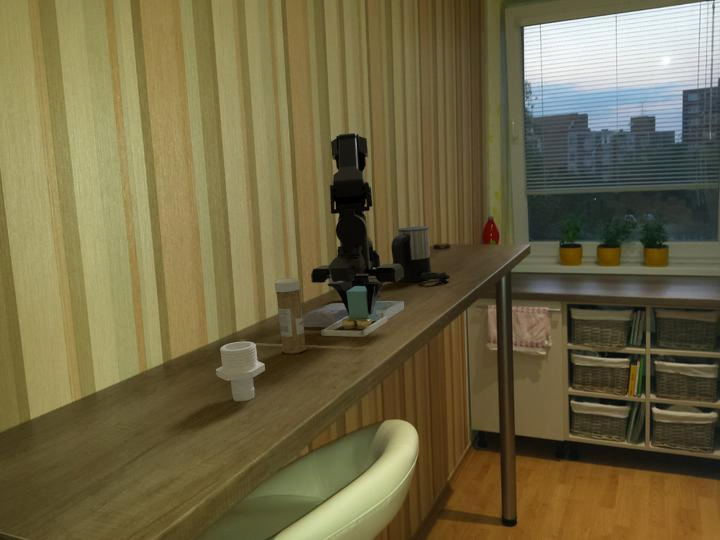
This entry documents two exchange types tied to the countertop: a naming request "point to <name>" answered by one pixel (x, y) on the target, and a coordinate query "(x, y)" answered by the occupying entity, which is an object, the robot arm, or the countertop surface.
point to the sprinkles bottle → (290, 315)
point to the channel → (387, 308)
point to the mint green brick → (359, 303)
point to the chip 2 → (363, 323)
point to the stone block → (325, 315)
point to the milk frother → (414, 254)
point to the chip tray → (332, 332)
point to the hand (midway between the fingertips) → (360, 314)
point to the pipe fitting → (240, 368)
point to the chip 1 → (349, 323)
